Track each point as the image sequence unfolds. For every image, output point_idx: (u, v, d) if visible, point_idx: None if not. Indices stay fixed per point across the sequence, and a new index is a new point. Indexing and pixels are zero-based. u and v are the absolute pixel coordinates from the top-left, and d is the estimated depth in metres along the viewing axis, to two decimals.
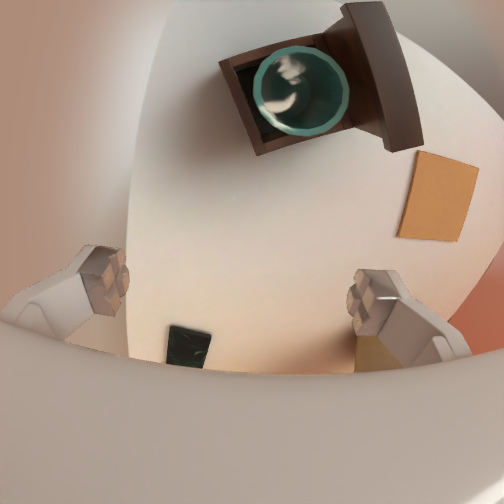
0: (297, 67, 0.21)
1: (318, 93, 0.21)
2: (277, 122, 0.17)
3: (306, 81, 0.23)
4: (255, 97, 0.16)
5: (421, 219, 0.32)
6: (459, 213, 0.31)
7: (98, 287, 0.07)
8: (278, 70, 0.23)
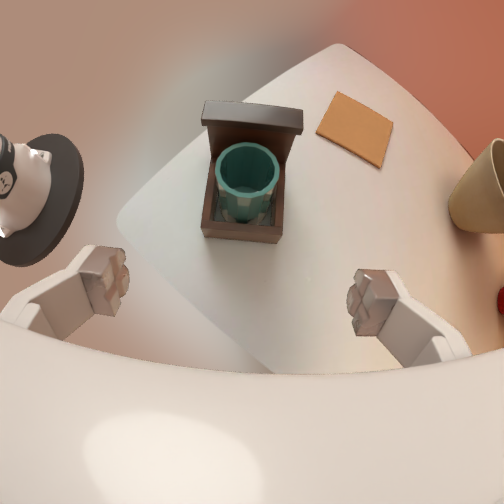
0: (229, 184, 0.35)
1: (253, 177, 0.34)
2: (262, 191, 0.26)
3: (241, 187, 0.37)
4: (239, 196, 0.26)
5: (369, 145, 0.41)
6: (370, 115, 0.42)
7: (98, 287, 0.07)
8: None
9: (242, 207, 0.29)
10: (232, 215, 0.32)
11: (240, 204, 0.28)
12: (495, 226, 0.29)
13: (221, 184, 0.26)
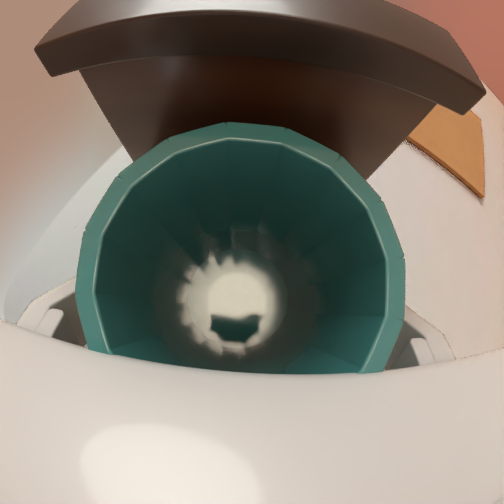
0: (196, 255, 0.13)
1: (263, 238, 0.12)
2: None
3: (232, 250, 0.15)
4: None
5: (465, 155, 0.18)
6: None
7: None
8: (193, 289, 0.15)
9: None
10: None
11: None
12: None
13: None
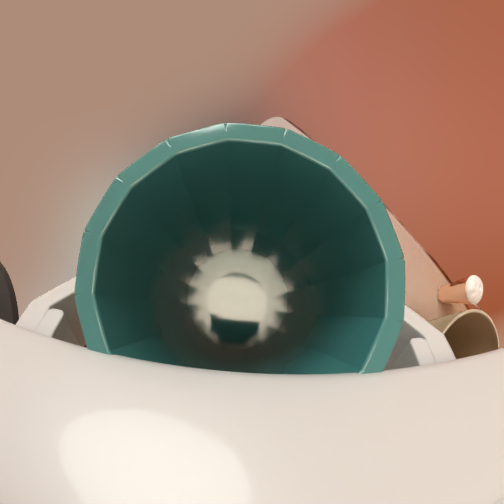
0: (195, 255, 0.13)
1: (263, 238, 0.12)
2: None
3: (231, 251, 0.15)
4: None
5: None
6: None
7: None
8: (192, 290, 0.15)
9: None
10: None
11: None
12: None
13: None
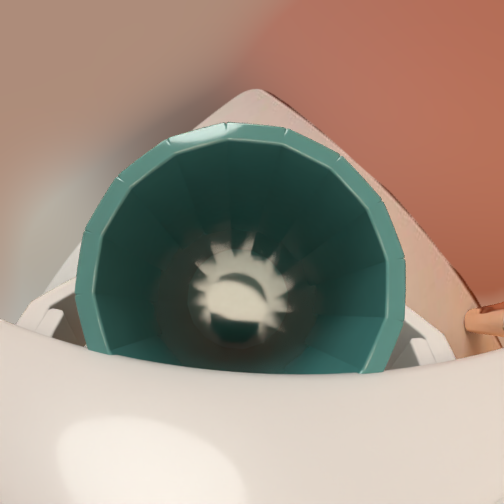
0: (196, 255, 0.13)
1: (263, 238, 0.12)
2: None
3: (232, 251, 0.15)
4: None
5: None
6: None
7: None
8: (193, 290, 0.15)
9: None
10: None
11: None
12: None
13: None
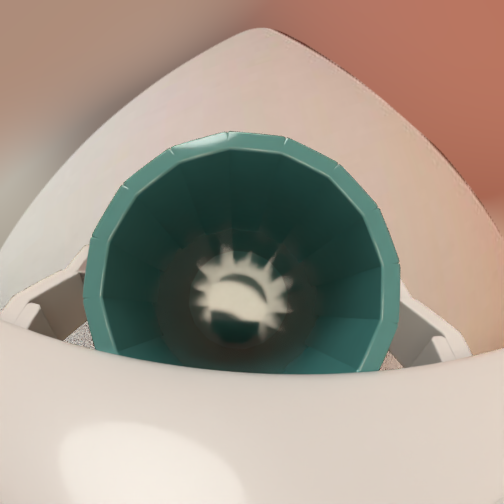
0: (197, 257, 0.13)
1: (263, 241, 0.12)
2: None
3: (232, 253, 0.16)
4: None
5: None
6: None
7: None
8: (194, 291, 0.15)
9: None
10: None
11: None
12: None
13: None
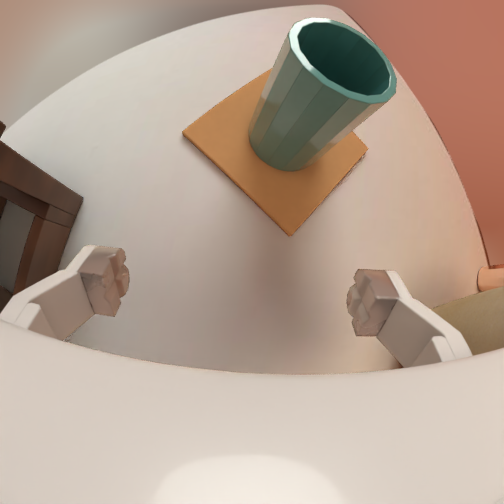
0: None
1: None
2: (369, 96, 0.11)
3: None
4: (328, 85, 0.10)
5: (289, 183, 0.21)
6: None
7: (98, 287, 0.07)
8: None
9: (312, 117, 0.13)
10: (276, 134, 0.17)
11: (313, 108, 0.12)
12: None
13: (296, 54, 0.10)
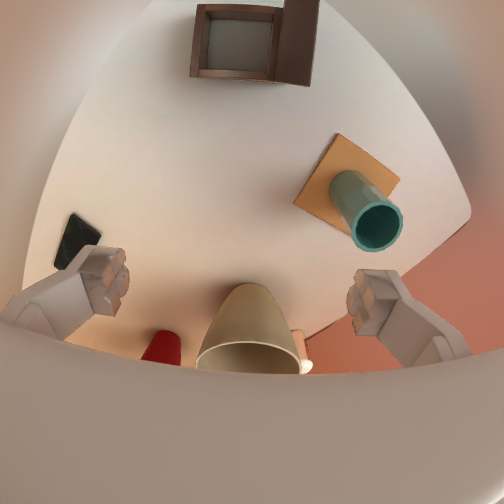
0: None
1: (373, 210, 0.34)
2: (355, 238, 0.29)
3: None
4: (354, 220, 0.28)
5: (322, 197, 0.38)
6: None
7: (98, 287, 0.07)
8: None
9: (345, 212, 0.30)
10: (341, 191, 0.33)
11: (348, 213, 0.29)
12: (208, 330, 0.39)
13: (368, 205, 0.27)
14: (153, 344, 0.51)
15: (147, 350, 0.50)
